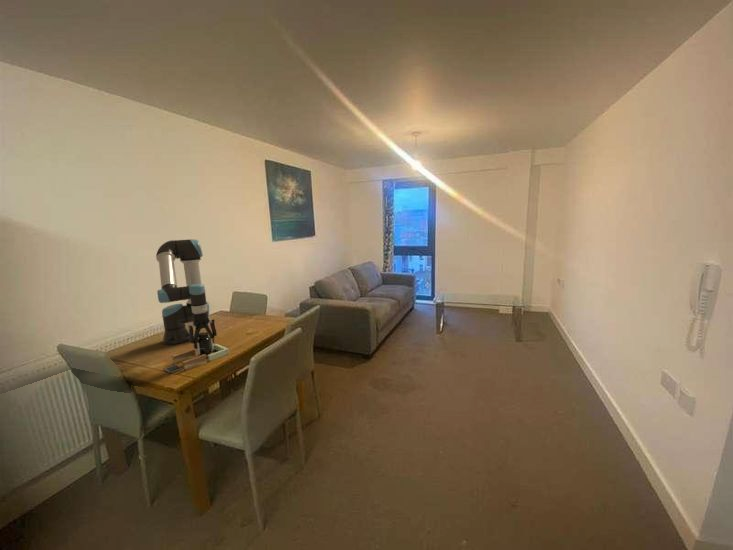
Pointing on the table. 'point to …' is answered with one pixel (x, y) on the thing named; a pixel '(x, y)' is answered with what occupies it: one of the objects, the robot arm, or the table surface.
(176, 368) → the mat
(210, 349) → the supplement bottle
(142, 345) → the table surface
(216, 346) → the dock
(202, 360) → the channel
